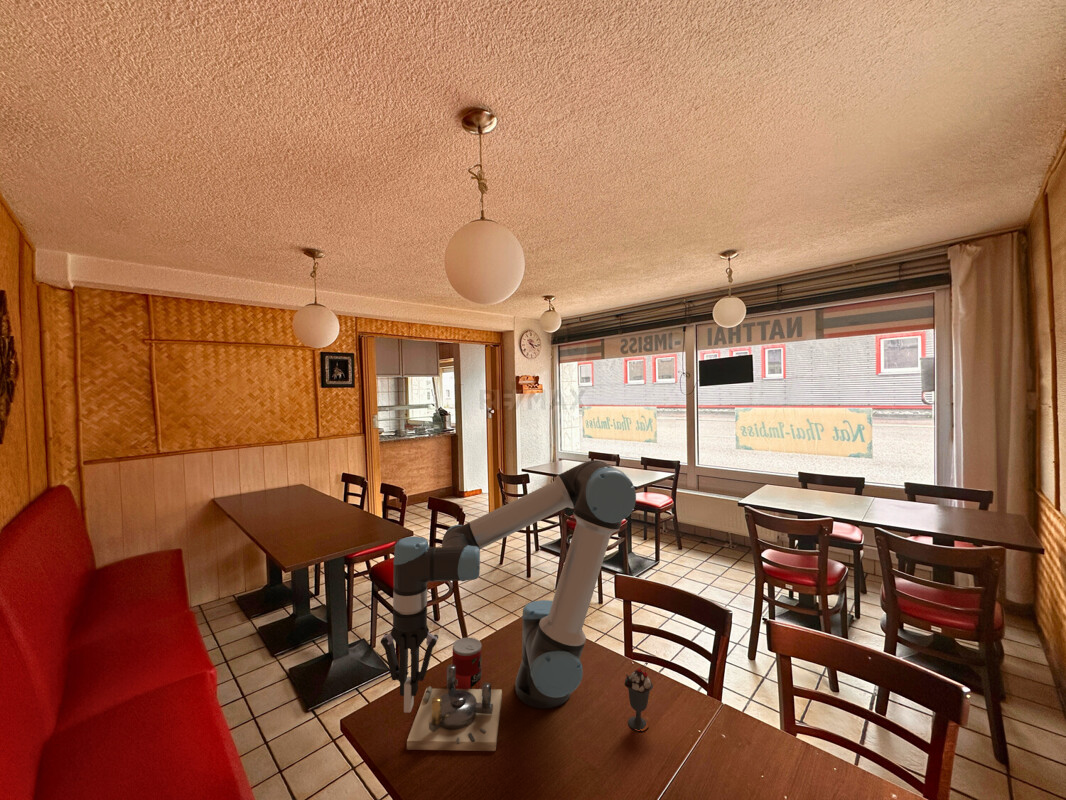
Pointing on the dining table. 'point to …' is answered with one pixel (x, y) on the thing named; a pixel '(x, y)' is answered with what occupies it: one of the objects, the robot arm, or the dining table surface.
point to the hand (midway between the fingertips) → (408, 708)
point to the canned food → (467, 663)
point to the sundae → (638, 696)
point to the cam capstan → (458, 705)
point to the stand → (467, 738)
